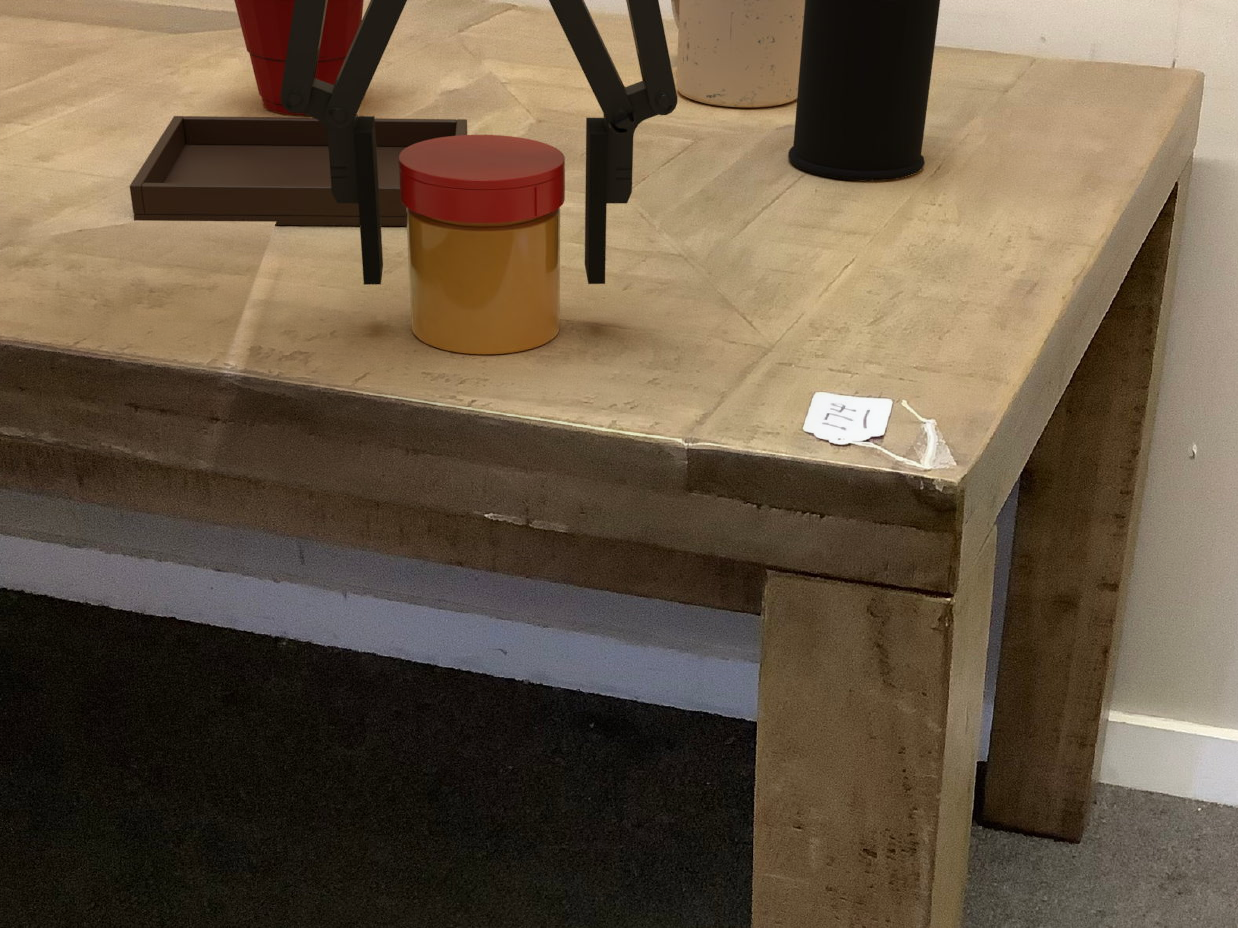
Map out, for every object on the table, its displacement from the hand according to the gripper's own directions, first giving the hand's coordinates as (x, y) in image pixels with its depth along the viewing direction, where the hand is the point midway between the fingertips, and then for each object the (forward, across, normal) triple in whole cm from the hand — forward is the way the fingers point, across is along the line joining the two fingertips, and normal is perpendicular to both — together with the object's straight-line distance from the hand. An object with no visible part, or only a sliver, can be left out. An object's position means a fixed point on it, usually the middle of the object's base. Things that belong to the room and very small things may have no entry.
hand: (484, 274), depth 76 cm
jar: (+3, 0, 0) cm, 3 cm away
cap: (-5, 0, 0) cm, 5 cm away
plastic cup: (+3, -11, +40) cm, 42 cm away
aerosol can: (+3, +23, +28) cm, 36 cm away
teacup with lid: (+3, +17, +46) cm, 49 cm away
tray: (+3, -10, +22) cm, 24 cm away
